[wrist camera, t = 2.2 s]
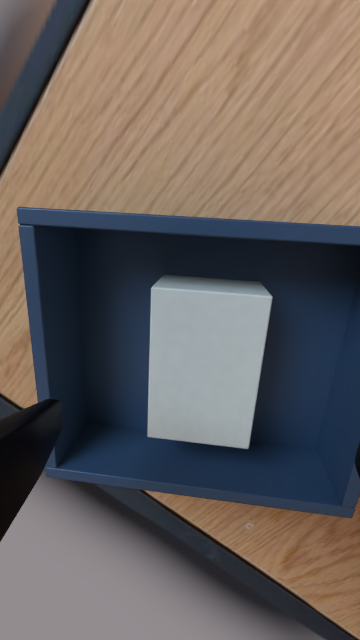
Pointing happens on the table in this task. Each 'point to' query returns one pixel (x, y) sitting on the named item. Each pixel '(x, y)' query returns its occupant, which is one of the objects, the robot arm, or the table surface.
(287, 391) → the box
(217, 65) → the table surface
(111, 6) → the table surface
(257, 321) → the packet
